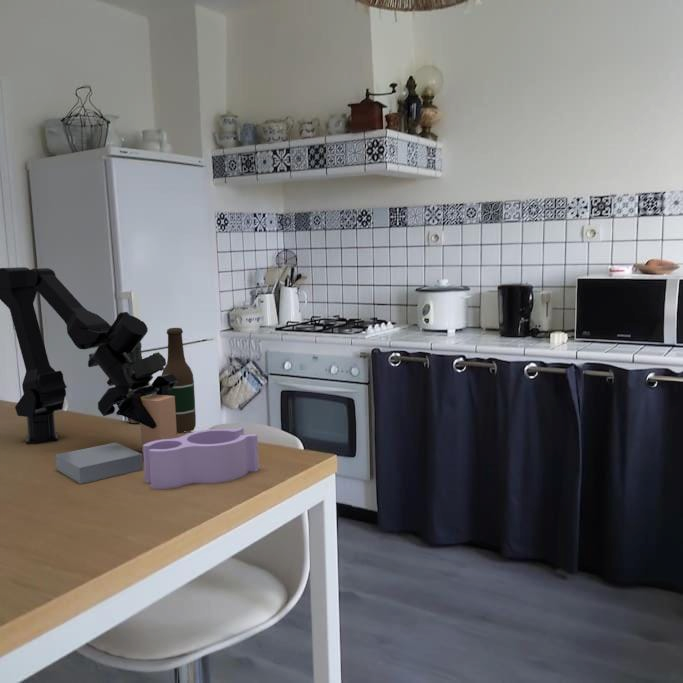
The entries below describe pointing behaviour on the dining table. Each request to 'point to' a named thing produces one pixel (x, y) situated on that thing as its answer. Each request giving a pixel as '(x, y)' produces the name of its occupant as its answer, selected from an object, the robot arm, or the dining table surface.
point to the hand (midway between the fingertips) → (163, 424)
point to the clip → (200, 458)
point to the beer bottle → (181, 382)
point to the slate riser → (98, 462)
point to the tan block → (159, 418)
